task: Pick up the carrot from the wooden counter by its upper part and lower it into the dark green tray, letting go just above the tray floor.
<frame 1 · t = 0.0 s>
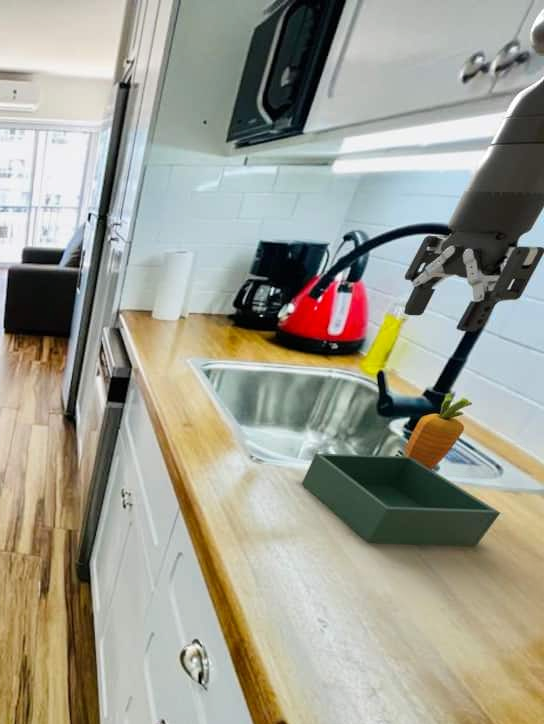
hand: (437, 322, 66), 25 cm above the worktop, tool pointing down, fingers open, 8 cm apart
dark green tray: (380, 512, 70), on the worktop
carrot: (407, 481, 77), on the worktop
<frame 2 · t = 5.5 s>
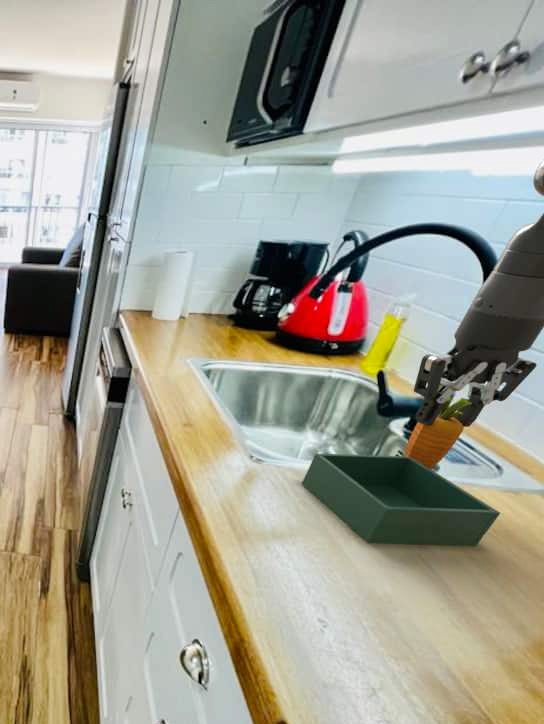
hand: (441, 423, 72), 10 cm above the worktop, tool pointing down, fingers closed on carrot, 5 cm apart
carrot: (406, 481, 77), on the worktop, touching gripper
when the fingers open (11 cm above the worktop, at t = 12.3 s): carrot stays where it is, resting on dark green tray.
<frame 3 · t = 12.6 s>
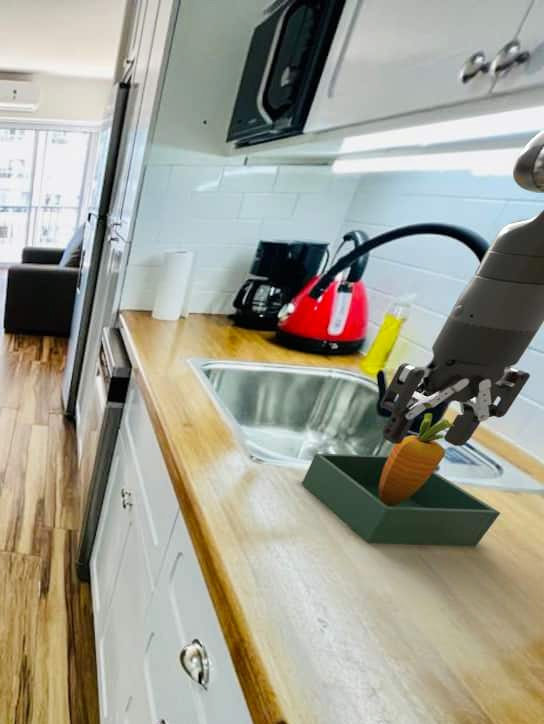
hand: (421, 442, 64), 12 cm above the worktop, tool pointing down, fingers open, 7 cm apart
carrot: (383, 510, 69), resting on dark green tray
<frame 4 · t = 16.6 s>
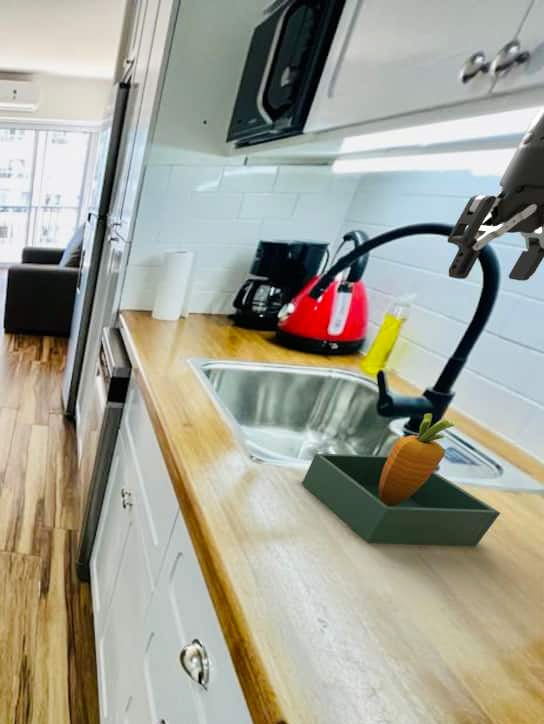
hand: (486, 278, 68), 30 cm above the worktop, tool pointing down, fingers open, 8 cm apart
nothing on the worktop moved.
at the end: carrot inside the target area in the dark green tray (0.1 cm from its centre), point 0.4 cm above the dark green tray's base; the gripper is holding nothing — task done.
